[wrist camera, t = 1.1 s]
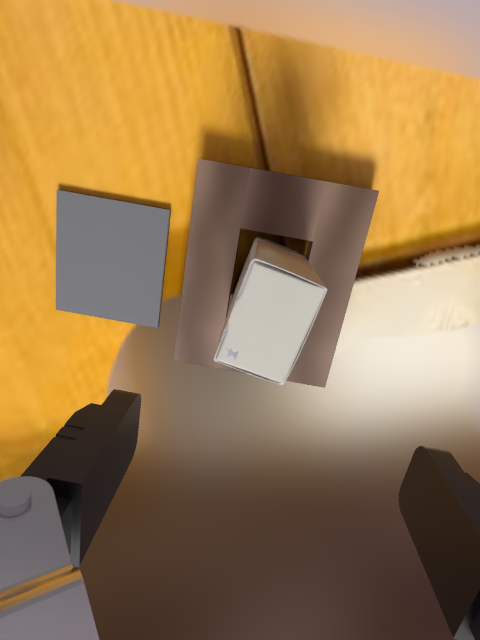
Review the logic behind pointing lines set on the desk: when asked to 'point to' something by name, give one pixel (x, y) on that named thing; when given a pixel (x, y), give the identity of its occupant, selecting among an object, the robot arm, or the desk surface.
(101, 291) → the mat
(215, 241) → the puzzle board
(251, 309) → the skincare box
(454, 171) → the desk surface
